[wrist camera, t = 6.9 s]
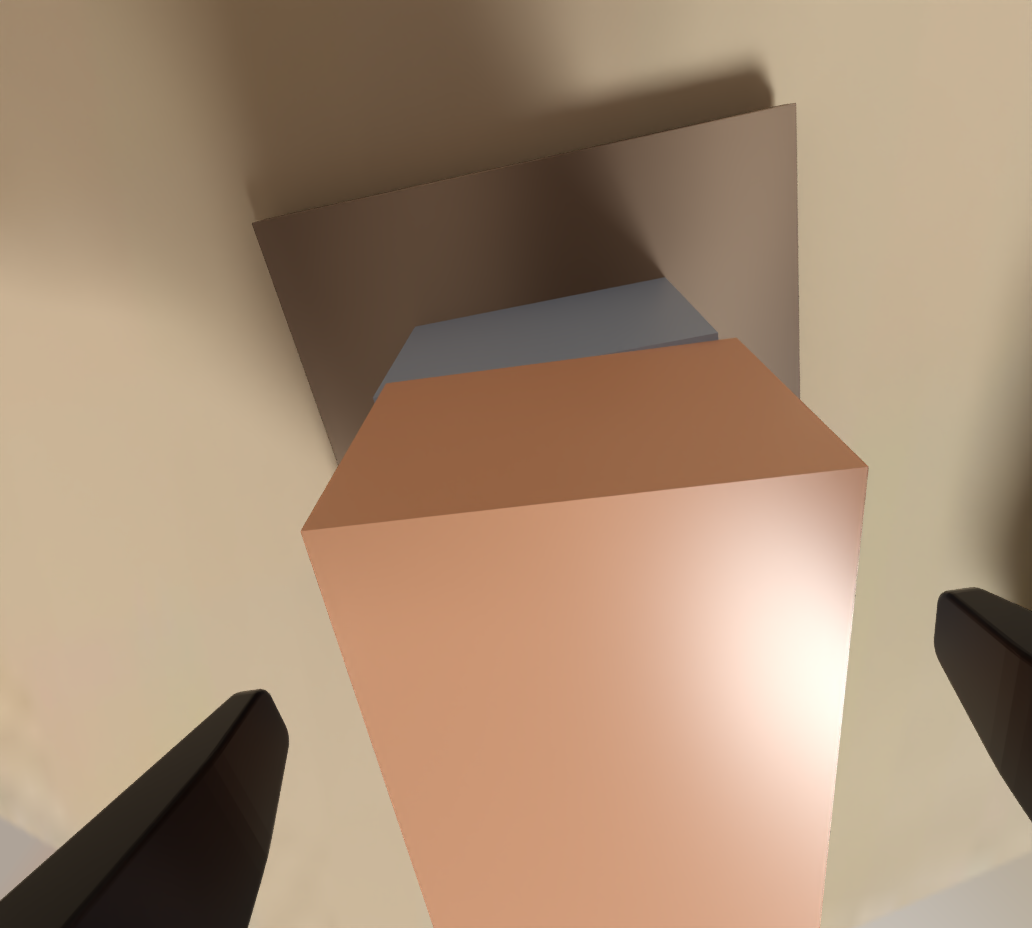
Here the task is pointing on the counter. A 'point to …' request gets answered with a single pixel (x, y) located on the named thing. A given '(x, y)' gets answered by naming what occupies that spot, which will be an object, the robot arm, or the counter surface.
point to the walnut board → (547, 250)
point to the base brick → (553, 332)
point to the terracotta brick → (601, 635)
